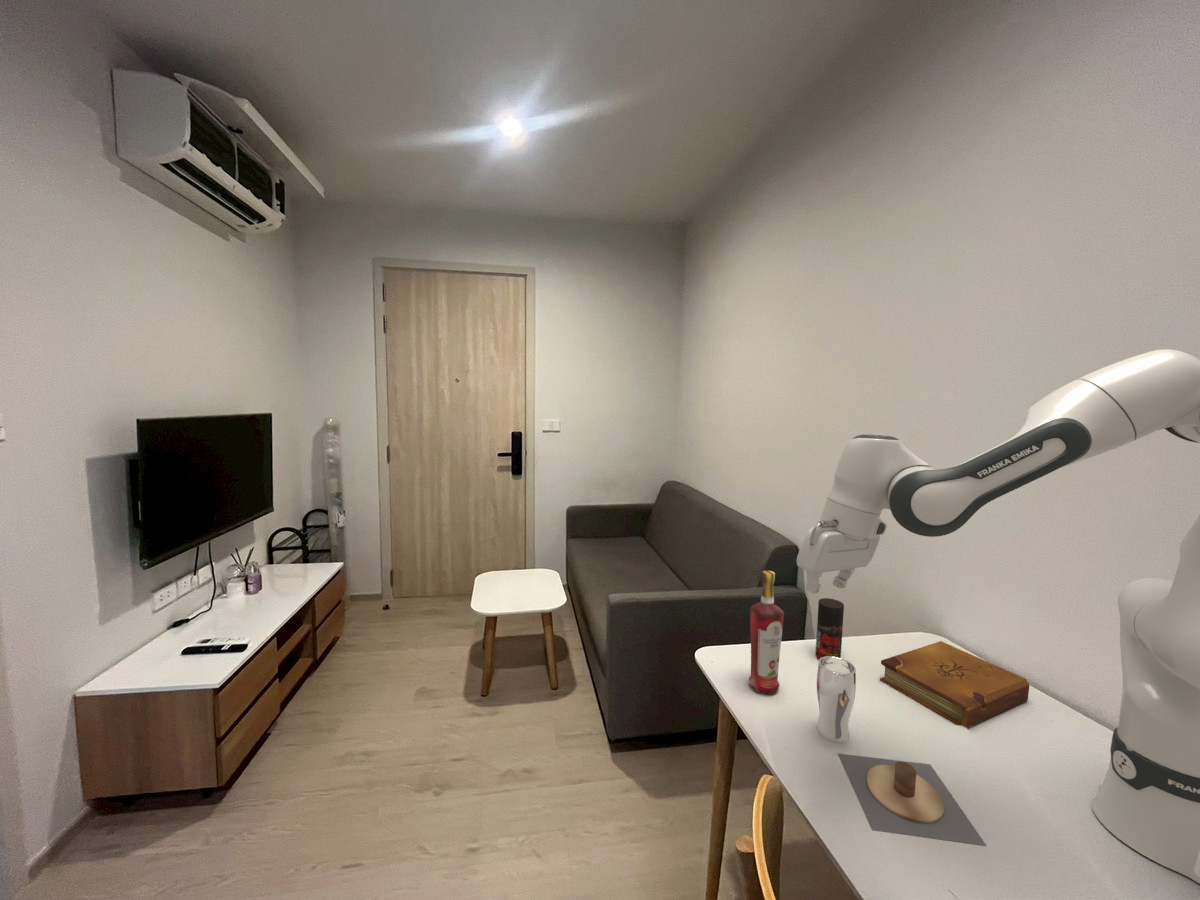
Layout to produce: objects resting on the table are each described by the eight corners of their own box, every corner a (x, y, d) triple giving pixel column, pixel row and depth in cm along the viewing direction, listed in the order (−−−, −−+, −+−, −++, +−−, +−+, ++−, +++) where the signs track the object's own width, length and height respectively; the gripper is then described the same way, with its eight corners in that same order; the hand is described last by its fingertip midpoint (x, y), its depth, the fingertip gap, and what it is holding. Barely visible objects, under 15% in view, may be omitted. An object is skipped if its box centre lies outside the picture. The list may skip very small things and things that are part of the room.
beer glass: (857, 749, 90) (862, 677, 89) (818, 744, 92) (823, 672, 90) (846, 725, 97) (850, 657, 95) (810, 720, 98) (814, 653, 97)
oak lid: (922, 773, 84) (924, 748, 83) (958, 828, 73) (961, 800, 73) (856, 765, 86) (858, 741, 85) (882, 818, 75) (885, 790, 74)
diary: (965, 733, 96) (967, 707, 95) (879, 682, 113) (880, 660, 112) (1027, 703, 105) (1030, 679, 104) (939, 661, 122) (941, 640, 121)
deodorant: (810, 654, 124) (813, 600, 122) (827, 649, 126) (830, 596, 125) (828, 666, 119) (832, 609, 117) (845, 661, 121) (849, 605, 119)
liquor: (768, 676, 114) (773, 565, 111) (786, 694, 107) (792, 577, 104) (741, 680, 113) (745, 568, 110) (758, 699, 106) (763, 579, 102)
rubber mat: (930, 767, 86) (930, 764, 86) (986, 849, 70) (986, 845, 70) (837, 756, 89) (837, 753, 89) (871, 833, 73) (872, 829, 73)
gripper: (834, 528, 76) (809, 604, 79) (891, 526, 88) (868, 592, 90) (800, 513, 81) (778, 585, 84) (858, 513, 93) (837, 576, 95)
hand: (825, 589), depth 87 cm, fingers open, 8 cm apart
